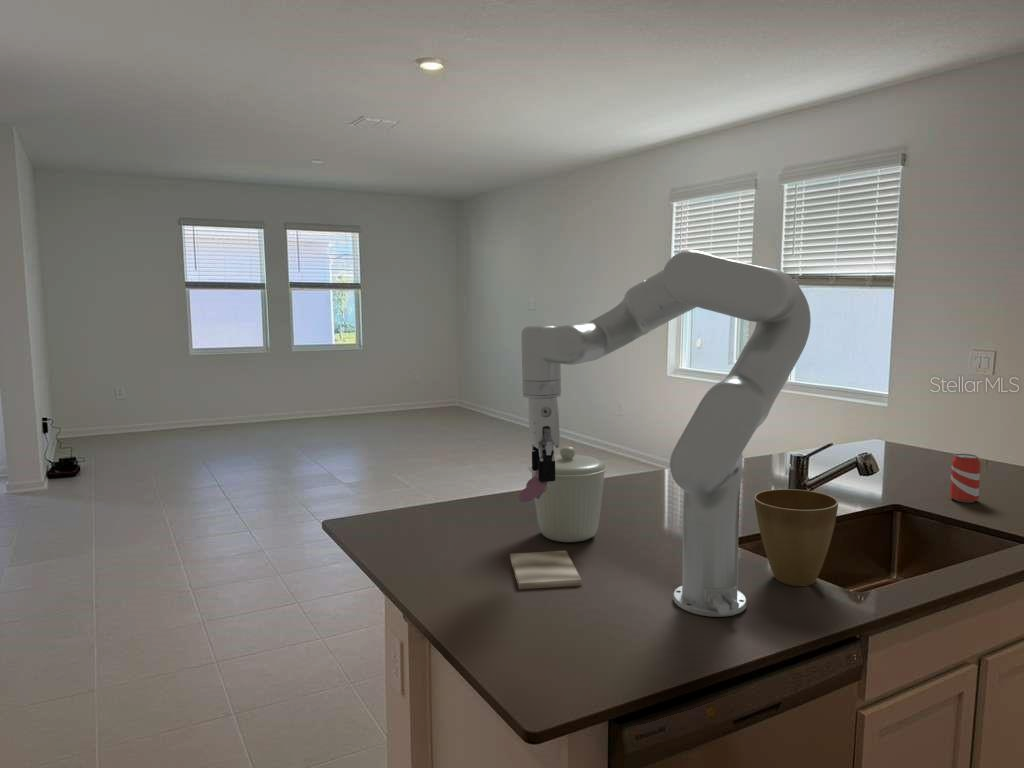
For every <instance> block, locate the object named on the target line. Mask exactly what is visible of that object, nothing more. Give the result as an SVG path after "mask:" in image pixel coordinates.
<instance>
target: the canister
mask: <svg viewBox="0 0 1024 768" xmlns="http://www.w3.org/2000/svg"><path fill="white" fill-rule="evenodd" d="M554 457H555V481H549V482H548V486H549V489H548V490H547V489H546V490H547V491H545V492H543V493H542V495H541V496H540V498H539V499H537V498H534V504H535V511H536V517H537V524H538V527H539V528H538V529H539V530H540V532H541V534H542V535H543V537H545V538H546V539H548V540H551V541H555V542H559V543H560V542H561V543H578V542H579V543H580V542H584V541H587V540H590V539H591V538H593V537H594V536H595V534H597V531H598V529H599V523H600V517H601V508H602V499H603V492H604V483H605V482H604V481H605V473H606V472H607V470H608V465H607V464H606V463H604V462H603V461H601V460H599V459H598V458H596V457H592V456H590V455H582V454H576V450H575V448H574V447H572V446H568V445H567V446H566V445H565V446H563V447H561V449H560V450H559V454H554ZM528 470H529V471H530V473H531V478H533V477H534V476H535V473H536V471H533V470H532V463H530V464H528Z"/></svg>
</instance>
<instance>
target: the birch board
mask: <svg viewBox="0 0 1024 768" xmlns="http://www.w3.org/2000/svg"><path fill="white" fill-rule="evenodd" d="M509 558H510V559H509V560H510V562H511V566H512V570H513V573H515V574H514V576H515V579H516V583H517V586H518V589H519V590H530V589H545V588H546V589H547V588H548V589H549V588H562V587H579V586H582V578H581V576H580V574H579V572H578V570H577V569H576V566H575V565H574V563H573V561H572V559H571V557H570V556H569V554H568V552H567V550H551V551H536V552H532V551H531V552H515V553H509Z"/></svg>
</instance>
